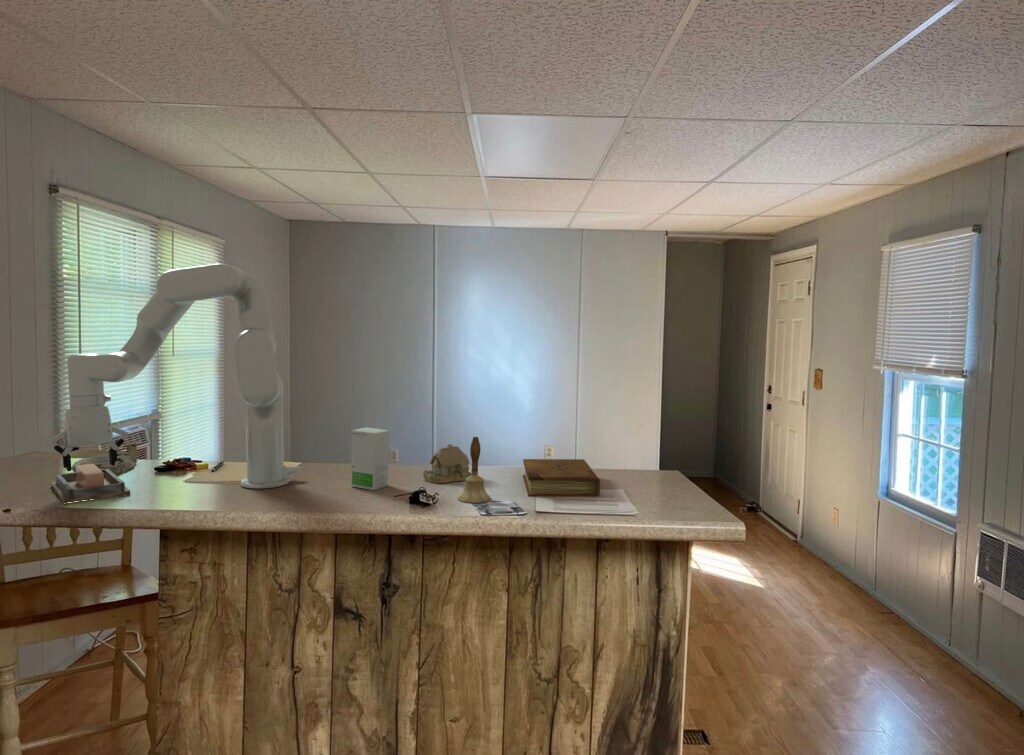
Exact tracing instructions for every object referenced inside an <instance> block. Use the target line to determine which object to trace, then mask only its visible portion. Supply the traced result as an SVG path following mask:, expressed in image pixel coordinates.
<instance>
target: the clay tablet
mask: <svg viewBox="0 0 1024 755" xmlns="http://www.w3.org/2000/svg"><path fill="white" fill-rule="evenodd" d="M137 463H138V458H137V457H136V456H135V457H134V455H133V453H132V452H131V451H117V461H116V462H115V465H114V466H112V465H111V464H110V461H109V452H104V453H99V454H96V455H92V456H89V457H85V458H82V459H79V460H77V461H74V463H73V464H72V465H71V471H73V472H76V466H77V465H86V464H94V465H96V466H97V467H98V468H99V469H109V470H110V471H111V472H113V473H114V474H115V475H116V476H118V475H121V474H120V473H122V474H124V473H126V472H128V471H129V470H132V469H134V468H136V466H135V465H136V464H137ZM123 472H124V473H123ZM117 474H118V475H117Z"/></svg>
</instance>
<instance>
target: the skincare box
mask: <svg viewBox="0 0 1024 755" xmlns="http://www.w3.org/2000/svg"><path fill="white" fill-rule="evenodd" d="M351 431H352V432H351V459H350V460H351V462H350V463H351V466H350V467H351V468H350V487H354V488H360V489H365V490H371V491H376V490H378V489H382V488H385V487H388V485H389V462H390V461H389V456H390V455H389V454H390V430H387V429H380V428H373V427H367V426H366V427H361V428H357V429H352V430H351Z"/></svg>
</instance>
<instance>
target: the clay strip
mask: <svg viewBox="0 0 1024 755" xmlns="http://www.w3.org/2000/svg"><path fill="white" fill-rule="evenodd" d="M76 482H77V483H78V485H79V486H80V487H81V488H87V487H94V486H102V485H104V473H103V472H102V471H101V470H100V469H99V468H98V467H97V466H96V465H94V464H86V465H77V466H76Z"/></svg>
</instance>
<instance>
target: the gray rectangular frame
mask: <svg viewBox="0 0 1024 755" xmlns="http://www.w3.org/2000/svg"><path fill="white" fill-rule="evenodd" d="M100 470H101V471H102V472H103V473H104V485H102V486H94V487H87V488H81V487H80V486H79V485H78V483H77V482H76V472H65V473H60V474H56V475H55V479H56V481H51V483H50V484H51V485H50V486H51V488H52V487H53V488H52V490H53V489H54V490H55V491H56V492H55V491H54V490H53V491H54V492H55V494H56V493H57V494H58V495H59V496H58V495H57V494H56V495H57V496H58V498H59V497H60V498H61V499H62V501H63V502H64V503H67V502H74V501H82V500H90V499H100V500H103V499H102V498H107V499H110V498H109V497H114V498H117V497H116V496H121V497H125V496H124V495H128V496H131V490H130V489H129V488H128V486H125V485H126V484H125V482H124V480H122V479H121V478H120V477H119V476H118V475H115V474H114V473H113V472H111V471H110V470H109V469H100ZM60 498H59V499H60ZM61 499H60V500H61ZM62 501H61V502H62ZM63 502H62V503H63ZM64 503H63V504H64Z"/></svg>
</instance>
